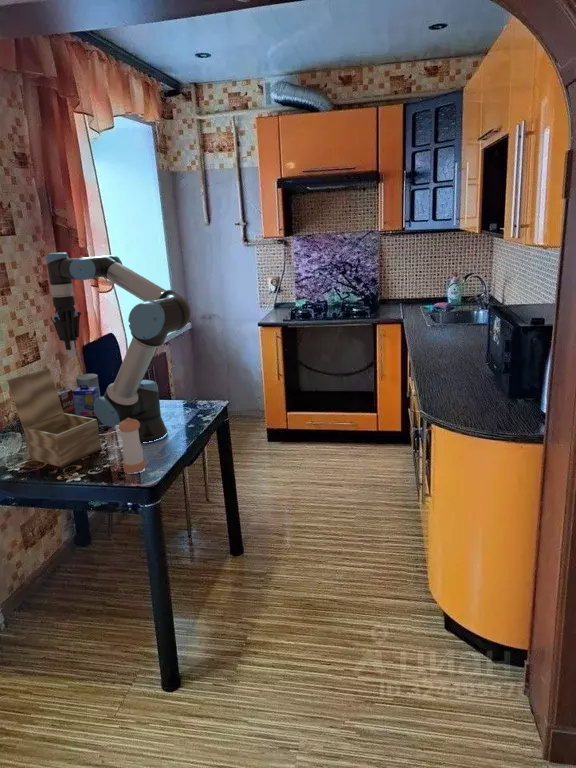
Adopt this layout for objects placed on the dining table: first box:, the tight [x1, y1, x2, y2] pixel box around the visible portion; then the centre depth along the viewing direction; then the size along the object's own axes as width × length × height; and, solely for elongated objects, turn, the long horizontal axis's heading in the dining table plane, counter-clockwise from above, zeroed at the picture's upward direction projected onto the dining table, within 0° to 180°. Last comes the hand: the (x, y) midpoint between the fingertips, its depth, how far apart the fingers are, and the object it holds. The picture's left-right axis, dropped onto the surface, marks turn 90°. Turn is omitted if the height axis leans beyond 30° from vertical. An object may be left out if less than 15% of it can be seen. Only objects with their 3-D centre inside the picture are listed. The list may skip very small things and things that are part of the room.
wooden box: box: [22, 413, 102, 468], centre depth 206 cm, size 18×18×12 cm
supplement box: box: [56, 388, 76, 416], centre depth 233 cm, size 9×5×16 cm, turn 168°
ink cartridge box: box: [72, 385, 99, 417], centre depth 249 cm, size 10×6×14 cm, turn 88°
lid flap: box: [6, 368, 64, 428], centre depth 207 cm, size 18×18×1 cm
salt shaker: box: [118, 418, 146, 473], centre depth 188 cm, size 7×7×19 cm
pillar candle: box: [75, 373, 101, 397], centre depth 264 cm, size 10×10×15 cm
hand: (72, 357), depth 211 cm, fingers closed
